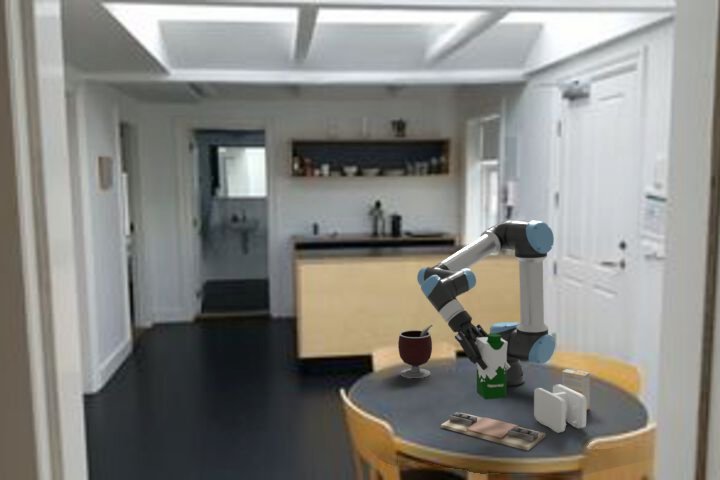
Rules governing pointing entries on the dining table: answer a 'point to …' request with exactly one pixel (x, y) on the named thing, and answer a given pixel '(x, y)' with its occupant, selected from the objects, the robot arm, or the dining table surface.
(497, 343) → the soya milk
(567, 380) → the supplement box
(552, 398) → the cable organizer
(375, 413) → the dining table surface
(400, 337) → the mate gourd
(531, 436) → the board with end clamps
